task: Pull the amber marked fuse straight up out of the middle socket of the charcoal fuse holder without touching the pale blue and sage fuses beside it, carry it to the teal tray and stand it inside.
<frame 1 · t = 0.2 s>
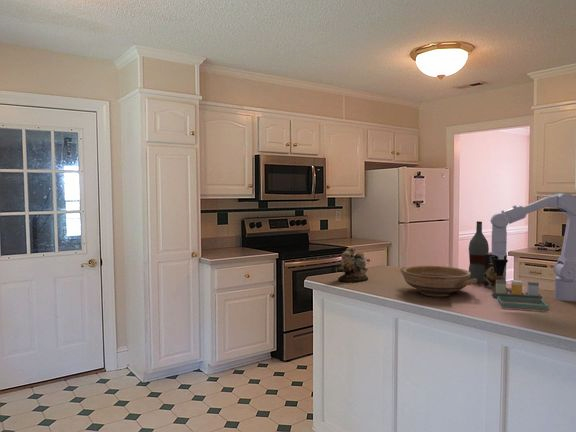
hand: (498, 274, 194), 10 cm above the countertop, tool pointing down, fingers open, 7 cm apart
fuse holder: (516, 300, 190), on the countertop
coffee box: (494, 289, 213), on the countertop
sage fuse: (500, 296, 192), point 1 cm above the countertop, touching fuse holder
bottle: (477, 282, 228), on the countertop
ceramic bowl: (436, 293, 203), on the countertop
parts tray: (521, 307, 179), on the countertop
marked fuse: (516, 297, 190), point 1 cm above the countertop, touching fuse holder
pale blue fuse: (532, 298, 188), point 1 cm above the countertop, touching fuse holder
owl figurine: (352, 280, 233), on the countertop
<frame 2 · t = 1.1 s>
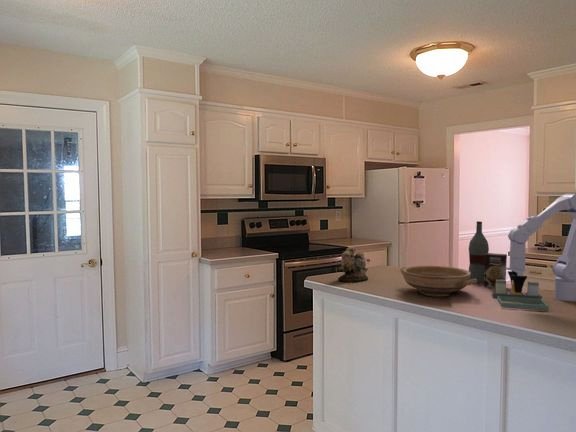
hand: (516, 290, 190), 4 cm above the countertop, tool pointing down, fingers open, 7 cm apart
nothing on the countertop moved.
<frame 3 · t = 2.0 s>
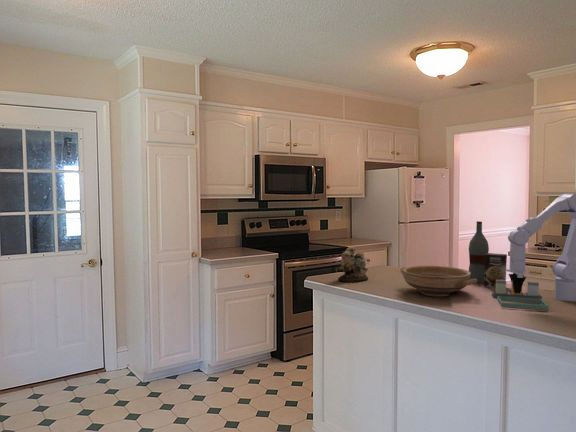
hand: (516, 292, 190), 3 cm above the countertop, tool pointing down, fingers closed on marked fuse, 2 cm apart
marked fuse: (516, 297, 190), point 1 cm above the countertop, touching fuse holder, gripper
everything else where it was.
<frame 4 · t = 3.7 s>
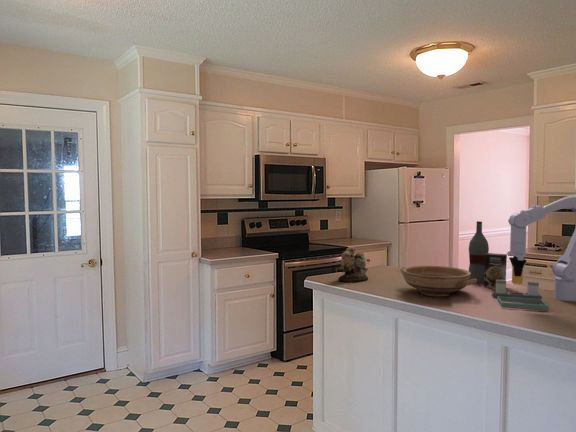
hand: (517, 275, 189), 10 cm above the countertop, tool pointing down, fingers closed on marked fuse, 2 cm apart
marked fuse: (517, 283, 189), point 7 cm above the countertop, touching gripper
everything else where it was.
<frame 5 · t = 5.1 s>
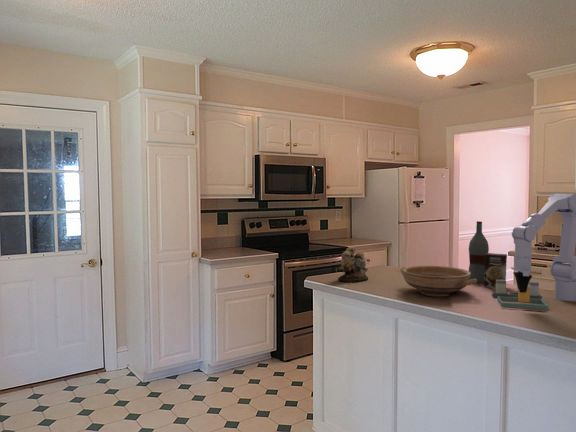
hand: (521, 291, 179), 6 cm above the countertop, tool pointing down, fingers closed on marked fuse, 2 cm apart
marked fuse: (523, 301, 179), point 2 cm above the countertop, touching gripper
everything else where it was.
when the fingers open (4 cm above the countertop, at t = 5.8 s): marked fuse stays where it is, resting on parts tray.
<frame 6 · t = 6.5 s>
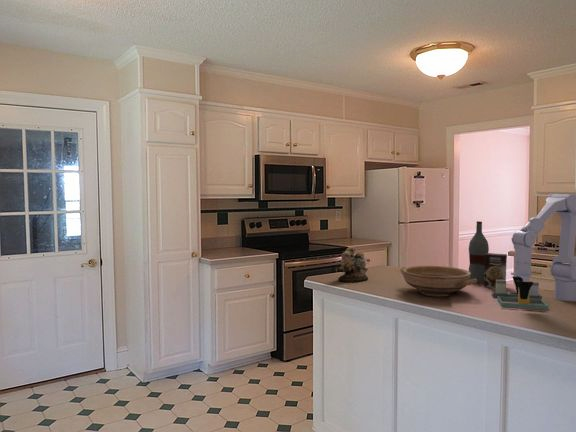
hand: (521, 296, 179), 4 cm above the countertop, tool pointing down, fingers open, 7 cm apart
marked fuse: (523, 305, 179), point 1 cm above the countertop, touching parts tray
everything else where it was.
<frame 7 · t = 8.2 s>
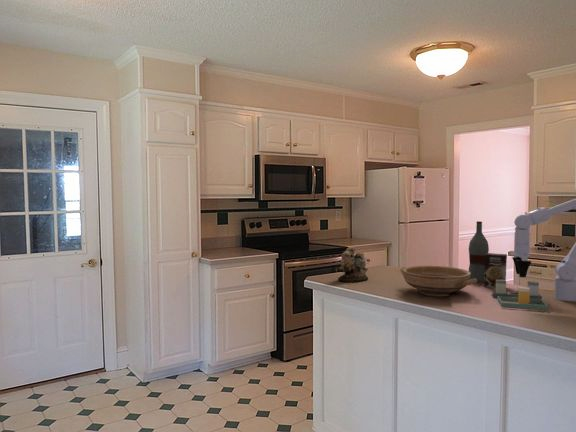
hand: (521, 275, 195), 9 cm above the countertop, tool pointing down, fingers open, 7 cm apart
nothing on the countertop moved.
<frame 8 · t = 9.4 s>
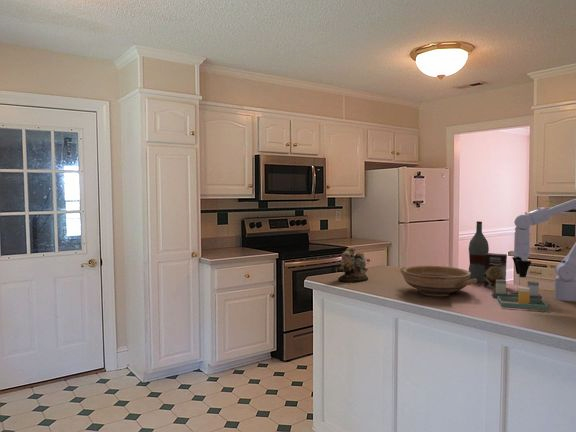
hand: (521, 275, 195), 9 cm above the countertop, tool pointing down, fingers open, 7 cm apart
nothing on the countertop moved.
at the end: marked fuse inside the target area on the parts tray (0.7 cm from its centre), point 0.6 cm above the parts tray's base; pale blue fuse moved 0.0 cm from its start; sage fuse moved 0.0 cm from its start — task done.
